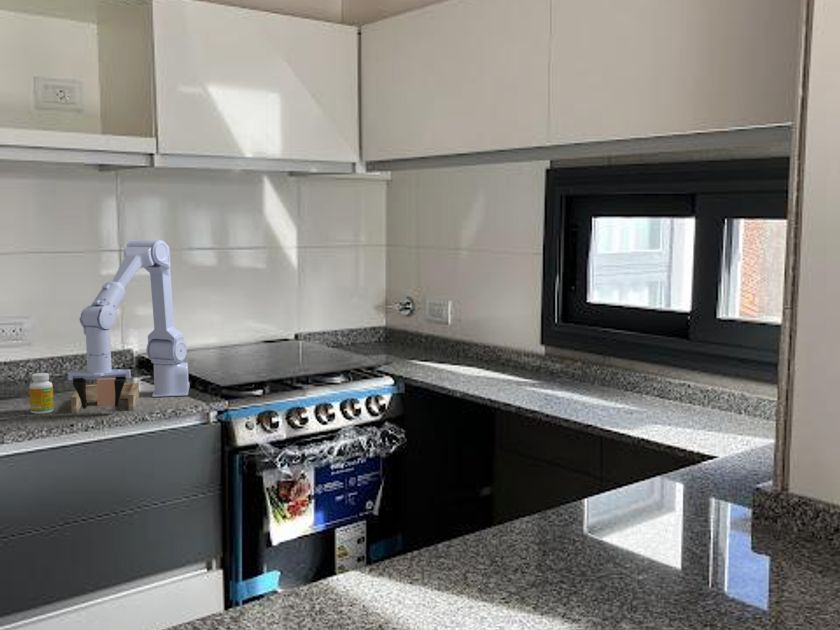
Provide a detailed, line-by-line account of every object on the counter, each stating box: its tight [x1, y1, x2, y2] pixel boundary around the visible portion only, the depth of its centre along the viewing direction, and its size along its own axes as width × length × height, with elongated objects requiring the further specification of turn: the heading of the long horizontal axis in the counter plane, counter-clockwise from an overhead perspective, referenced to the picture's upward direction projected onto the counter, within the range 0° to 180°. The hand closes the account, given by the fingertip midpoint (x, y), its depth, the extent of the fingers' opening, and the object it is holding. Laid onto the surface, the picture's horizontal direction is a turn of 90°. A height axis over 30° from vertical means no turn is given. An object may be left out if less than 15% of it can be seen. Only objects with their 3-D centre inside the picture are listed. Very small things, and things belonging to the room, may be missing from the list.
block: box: [96, 378, 116, 406], centre depth 231 cm, size 4×4×7 cm
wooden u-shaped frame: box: [70, 382, 140, 414], centre depth 230 cm, size 15×16×4 cm
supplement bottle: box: [28, 372, 54, 415], centre depth 221 cm, size 5×5×10 cm
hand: (100, 407), depth 219 cm, fingers open, 7 cm apart
